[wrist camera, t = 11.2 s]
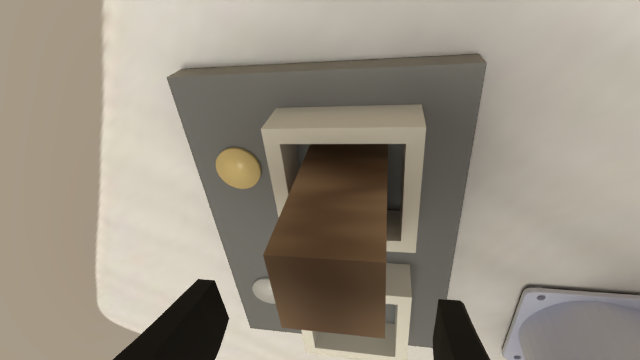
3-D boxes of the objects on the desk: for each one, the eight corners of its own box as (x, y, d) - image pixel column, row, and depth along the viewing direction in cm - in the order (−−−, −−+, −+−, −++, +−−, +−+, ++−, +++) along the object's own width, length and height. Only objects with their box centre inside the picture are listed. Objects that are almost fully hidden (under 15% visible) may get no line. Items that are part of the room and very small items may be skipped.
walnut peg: (387, 143, 17) (386, 262, 10) (387, 206, 19) (384, 338, 13) (310, 143, 18) (262, 254, 11) (317, 204, 20) (281, 327, 13)
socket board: (479, 54, 15) (502, 80, 12) (435, 330, 27) (442, 382, 23) (181, 69, 18) (135, 94, 15) (256, 312, 30) (239, 357, 26)
